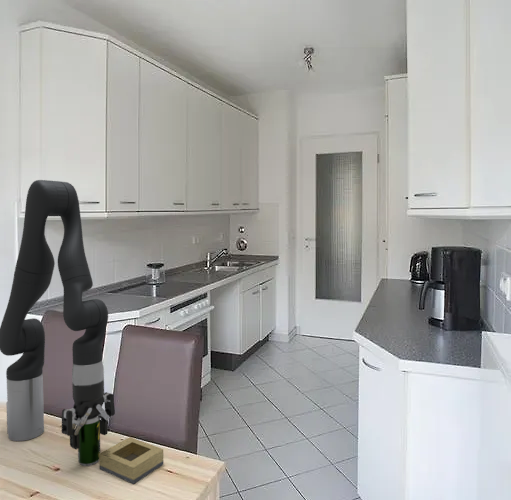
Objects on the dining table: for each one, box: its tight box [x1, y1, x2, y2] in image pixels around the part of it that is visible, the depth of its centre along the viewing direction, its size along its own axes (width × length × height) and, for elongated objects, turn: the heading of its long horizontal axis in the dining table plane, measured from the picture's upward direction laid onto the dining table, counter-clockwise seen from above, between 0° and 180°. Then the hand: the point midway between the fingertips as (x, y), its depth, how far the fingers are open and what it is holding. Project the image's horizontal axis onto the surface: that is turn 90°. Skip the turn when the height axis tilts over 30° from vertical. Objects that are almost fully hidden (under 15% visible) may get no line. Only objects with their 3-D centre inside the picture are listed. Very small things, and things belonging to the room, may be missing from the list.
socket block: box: [98, 436, 164, 485], centre depth 111 cm, size 12×10×4 cm
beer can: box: [77, 414, 101, 467], centre depth 113 cm, size 5×5×12 cm
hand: (89, 441), depth 113 cm, fingers open, 8 cm apart
